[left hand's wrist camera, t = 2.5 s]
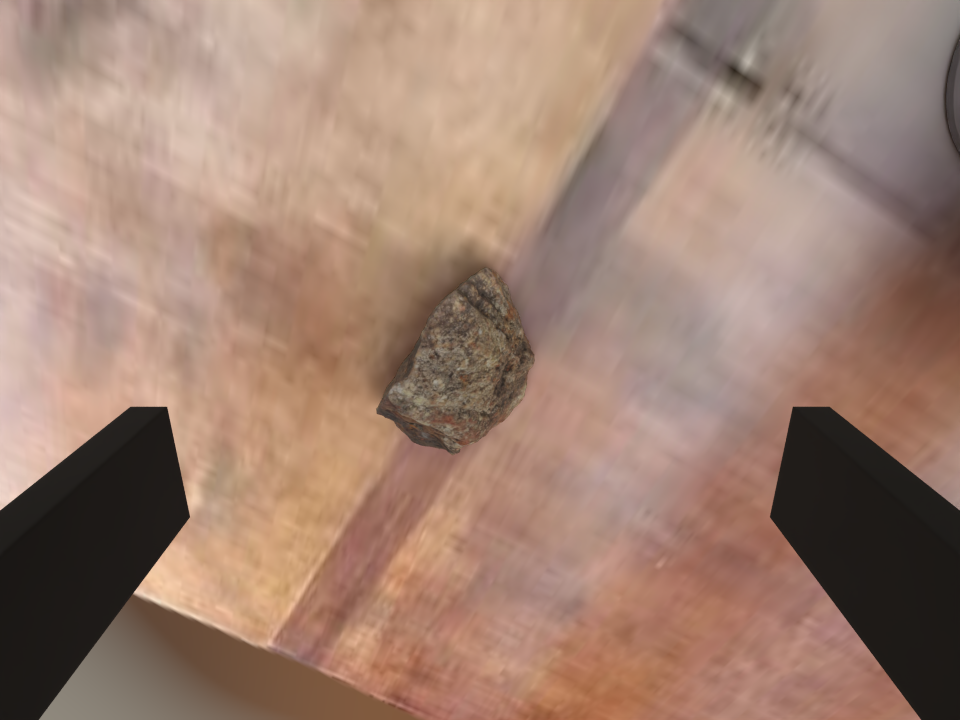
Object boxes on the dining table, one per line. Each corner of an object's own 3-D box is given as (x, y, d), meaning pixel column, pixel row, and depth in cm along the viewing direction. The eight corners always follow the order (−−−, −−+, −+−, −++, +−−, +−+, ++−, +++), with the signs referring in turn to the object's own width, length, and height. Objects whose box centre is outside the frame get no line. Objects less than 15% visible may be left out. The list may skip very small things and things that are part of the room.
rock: (351, 383, 45) (453, 458, 48) (317, 445, 38) (440, 531, 40) (475, 240, 40) (581, 332, 43) (465, 277, 32) (596, 387, 35)
